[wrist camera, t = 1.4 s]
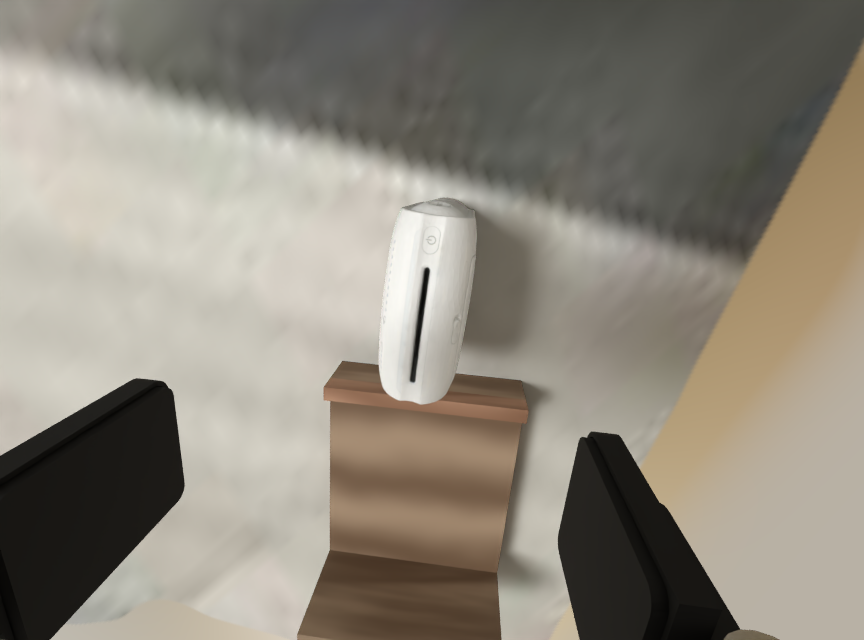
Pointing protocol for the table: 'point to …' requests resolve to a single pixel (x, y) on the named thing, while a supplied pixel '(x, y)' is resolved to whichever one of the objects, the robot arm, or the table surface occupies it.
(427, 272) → the photo printer
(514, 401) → the cleat board
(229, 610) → the table surface
